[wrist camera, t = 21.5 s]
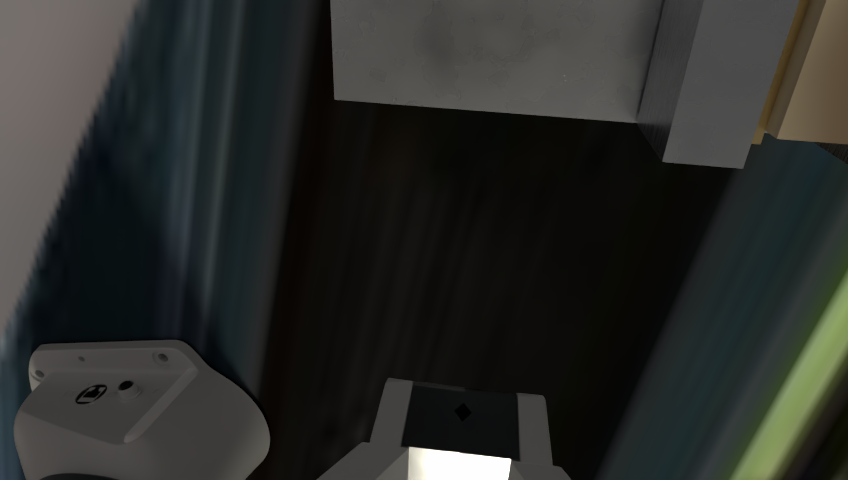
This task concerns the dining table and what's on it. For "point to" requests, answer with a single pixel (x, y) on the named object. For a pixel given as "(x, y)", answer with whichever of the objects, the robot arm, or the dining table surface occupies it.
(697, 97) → the block
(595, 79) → the vise base
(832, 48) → the maple block
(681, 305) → the dining table surface
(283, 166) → the dining table surface
